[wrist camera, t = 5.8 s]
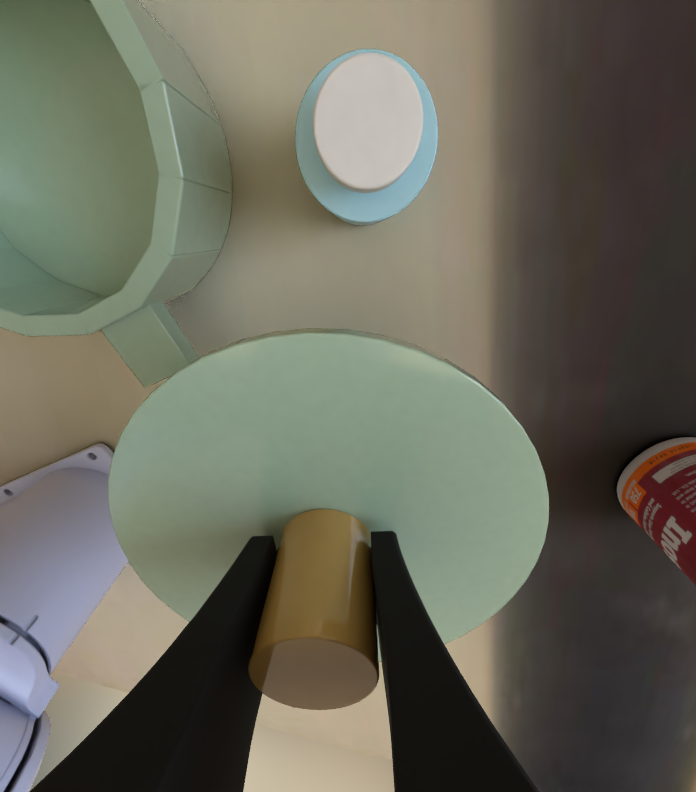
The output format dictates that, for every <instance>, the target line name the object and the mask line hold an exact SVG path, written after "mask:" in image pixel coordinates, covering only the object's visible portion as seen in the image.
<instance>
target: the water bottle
mask: <svg viewBox="0 0 696 792" xmlns="http://www.w3.org/2000/svg"><path fill="white" fill-rule="evenodd" d="M437 143H438V124H437V116H436V111H435V107H434V103H433V100H432V98H431V95H430V93H429V91H428V89H427V87H426V85H425V83H424V81H423V80H422V78H421V77H420V75H419V74H418V73H417V72H416V71H415V70H414V69H413V68H412V67H411V66H410V65H409V64H408V63H407V62H405V61H404V60H403V59H401V58H399V57H398V56H396V55H394V54H392V53H389V52H386V51H383V50H378V49H360V50H354V51H351V52H348V53H345V54H343V55H341V56H339V57H337V58H335V59H334V60H333V61H331V62H330V63H328V64H327V65H326V66H325V67H324V68H323V69H322V70H321V71H320V72H319V73H318V74H317V76H316V77H315V78H314V79H313V81H312V82H311V84H310V86H309V87H308V89H307V91H306V93H305V95H304V97H303V100H302V102H301V105H300V108H299V112H298V116H297V122H296V131H295V147H296V154H297V160H298V164H299V168H300V171H301V173H302V176H303V179H304V181H305V183H306V185H307V187H308V188H309V190H310V191H311V193H312V194H313V196H314V197H315V198H316V199H317V200H318V202H319V203H320V204H321V205H322V206H324V207H325V208H326V209H327V210H328V211H330V212H331V213H333V214H334V215H335V216H337V217H338V218H340V219H341V220H343V221H345V222H347V223H350V224H354V225H363V226H364V225H371V224H375V223H378V222H380V221H382V220H385V219H387V218H389V217H391V216H393V215H395V214H397V213H398V212H400V211H401V210H403V209H404V208H405V207H406V206H408V205H409V204H410V203H411V202H412V201H413V200H414V199H415V197H416V196H417V195H418V194H419V192H420V191H421V189H422V188H423V186H424V184H425V183H426V181H427V179H428V177H429V175H430V172H431V169H432V167H433V164H434V160H435V156H436V151H437Z"/></svg>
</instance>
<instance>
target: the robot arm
mask: <svg viewBox="0 0 696 792" xmlns="http://www.w3.org/2000/svg"><path fill="white" fill-rule="evenodd" d="M94 454H95V455H96V456H95V455H94ZM112 456H113V452H112V451H111V450H110V448H109V447H108V446H106V445H104V444H101V443H98V444H95V445H93V446H91V447H88V448H86V449H84V450H81V451H79V452H77V453H75V454H72V455H70V456H68V457H66V458H63V459H61V460H59V461H56V462H54V463H52V464H50V465H47V466H45V467H43V468H41V469H38V470H36V471H34V472H31V473H29V474H27V475H25V476H22V477H20V478H18V479H15V480H13V481H11V482H9V483H6V484H4V485H2V486H0V792H29V790H30V788H31V786H32V784H33V782H34V780H35V777H36V775H37V773H38V771H39V768H40V765H41V762H42V759H43V756H44V752H45V749H46V746H47V743H48V738H49V735H50V726H51V724H50V718H49V716H48V714H47V713H46V711H44V709H45V707H46V706H47V704H48V703H49V702H50V700H51V698H52V697H53V695H54V694H55V692H56V691H57V689H58V688H59V683H57V682H56V681H55V680H54V679H53V678H52V677H51V676H50V674H51V673H52V671H53V670H54V668H55V667H56V665H57V664H58V662H59V661H60V660H61V658H62V657H63V655H64V654H65V652H66V651H67V649H68V648H69V647H70V645H71V644H72V642H73V641H74V639H75V638H76V637H77V635H78V634H79V632H80V631H81V629H82V628H83V626H84V625H85V624H86V622H87V621H88V619H89V618H90V616H91V615H92V613H93V612H94V611H95V609H96V608H97V606H98V605H99V603H100V602H101V601H102V599H103V598H104V596H105V595H106V593H107V592H108V590H109V589H110V588H111V586H112V585H113V583H114V582H115V580H116V579H117V577H118V576H119V575H120V573H121V572H122V570H123V569H124V567H125V566H126V565H127V563H128V560H127V558H126V556H125V554H124V552H123V550H122V548H121V547H120V545H119V542H118V539H117V537H116V534H115V531H114V528H113V525H112V521H111V516H110V510H109V505H108V477H109V471H110V466H111V460H112ZM276 553H277V550H276V545H275V541H274V537H273V535H272V536H252V537H251V538H250V539H249V541H248V542H247V544H246V545H245V547H244V548H243V550H242V551H241V552H240V554H239V555H238V557H237V558H236V560H235V561H234V563H233V564H232V566H231V567H230V568H229V570H228V571H227V573H226V574H225V575H224V577H223V578H222V580H221V581H220V583H219V584H218V585H217V587H216V588H215V589H214V591H213V592H212V593H211V595H210V596H209V597H208V599H207V600H206V601H205V603H204V604H203V605H202V607H201V608H200V609H199V611H198V612H197V613H196V615H195V616H194V617H193V618H192V620H191V621H190V622H189V623H188V625H187V626H186V627H185V628H184V630H183V631H182V632H181V633H180V635H179V636H178V637H177V638H176V640H175V641H174V642H173V643H172V645H171V646H170V647H169V648H168V649H167V651H166V652H165V653H164V654H163V655H162V656H161V658H160V659H159V660H158V661H157V662H156V663H155V665H154V666H153V667H152V668H151V669H150V670H149V671H148V673H147V674H146V675H145V676H144V677H143V678H142V679H141V680H140V681H139V683H138V684H137V685H136V686H135V687H134V688H133V689H132V690H131V691H130V693H129V694H128V695H127V696H126V697H125V698H124V699H123V700H122V701H121V702H120V703H119V704H118V705H117V706H116V707H115V708H114V709H113V711H111V712H110V714H109V715H108V716H107V717H106V718H105V719H104V720H103V721H102V722H101V723H100V724H99V725H98V726H97V727H96V728H95V729H94V730H93V731H92V732H91V733H90V734H89V735H88V736H87V737H86V738H85V739H84V741H82V742H81V743H80V744H79V745H78V746H77V747H76V748H75V749H74V750H73V751H72V752H71V753H70V754H69V755H68V756H67V757H66V758H65V759H64V760H63V761H62V762H60V763H59V764H58V765H57V766H56V767H55V768H54V769H53V770H52V771H51V772H50V773H49V774H48V775H47V776H46V777H45V778H44V779H43V780H41V781H40V782H39V783H38V784H37V785H36V786H35V787H34V788H33V789H32V790H31V791H30V792H243V788H244V783H245V776H246V770H247V764H248V758H249V752H250V745H251V740H252V736H253V731H254V726H255V722H256V717H257V713H258V709H259V705H260V701H261V697H262V692H260V691H259V690H258V689H257V688H256V687H255V686H254V684H253V683H252V681H251V679H250V677H249V672H248V663H249V659H250V655H251V651H252V647H253V643H254V639H255V635H256V631H257V627H258V624H259V620H260V616H261V612H262V608H263V604H264V600H265V596H266V592H267V588H268V584H269V580H270V576H271V572H272V568H273V564H274V560H275V557H276ZM371 555H372V569H373V582H374V590H375V600H376V618H377V630H378V637H379V645H380V653H381V660H382V668H383V676H384V683H385V691H386V699H387V706H388V714H389V723H390V733H391V743H392V758H393V773H394V787H395V792H539V791H538V789H537V788H536V787H535V785H534V784H533V782H532V781H531V779H530V778H529V776H528V775H527V774H526V772H525V771H524V769H523V768H522V766H521V765H520V763H519V762H518V760H517V759H516V758H515V756H514V755H513V753H512V752H511V750H510V749H509V747H508V746H507V744H506V743H505V742H504V740H503V739H502V737H501V736H500V734H499V733H498V731H497V730H496V728H495V727H494V725H493V724H492V722H491V721H490V719H489V718H488V716H487V715H486V713H485V712H484V710H483V708H482V707H481V705H480V704H479V702H478V701H477V699H476V697H475V696H474V694H473V693H472V691H471V689H470V688H469V686H468V684H467V683H466V681H465V679H464V678H463V676H462V675H461V673H460V671H459V670H458V668H457V666H456V664H455V663H454V661H453V659H452V657H451V656H450V654H449V652H448V650H447V649H446V647H445V645H444V643H443V641H442V639H441V638H440V636H439V634H438V632H437V630H436V628H435V626H434V625H433V623H432V621H431V619H430V617H429V615H428V613H427V611H426V609H425V607H424V604H423V602H422V600H421V598H420V596H419V594H418V592H417V590H416V588H415V585H414V583H413V581H412V578H411V576H410V574H409V571H408V569H407V566H406V564H405V561H404V558H403V555H402V553H401V549H400V546H399V543H398V539H397V534H396V533H395V532H393V531H373V532H371Z"/></svg>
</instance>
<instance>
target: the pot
mask: <svg viewBox="0 0 696 792" xmlns="http://www.w3.org/2000/svg"><path fill="white" fill-rule="evenodd" d="M231 207H232V176H231V166H230V159H229V154H228V149H227V144H226V140H225V136H224V133H223V130H222V127H221V124H220V121H219V117H218V115H217V112H216V110H215V108H214V105H213V103H212V101H211V98H210V96H209V94H208V92H207V90H206V88H205V86H204V85H203V83H202V81H201V79H200V77H199V76H198V74H197V72H196V70H195V69H194V67H193V66H192V64H191V63H190V61H189V59H188V57H187V55H186V53H185V52H184V50H183V49H182V48H181V47H180V46H179V44H178V43H177V42H176V41H175V40H174V39H173V38H172V37H171V36H170V35H169V34H168V33H167V32H166V31H165V30H164V29H163V28H162V27H161V26H160V25H159V24H158V23H157V21H156V20H155V19H154V18H153V17H152V16H151V15H150V14H149V13H148V12H147V11H146V10H145V9H144V8H143V7H142V6H141V5H140V4H139V3H138V2H137V1H136V0H0V328H3V329H6V330H9V331H12V332H15V333H18V334H21V335H24V336H30V337H34V336H71V335H89V334H93V333H95V332H98V331H102V333H103V334H104V335H105V337H106V338H107V339H108V340H109V342H110V343H111V344H112V346H113V347H114V348H115V350H116V351H117V352H118V354H119V355H120V356H121V358H122V359H123V360H124V361H125V363H126V364H127V365H128V367H129V368H130V369H131V371H132V372H133V373H134V375H135V376H136V377H137V379H138V380H139V381H140V382H141V384H142V385H143V386H144V387H145V388H146V387H148V386H150V385H152V384H155V383H157V382H159V381H161V380H163V379H165V378H168V377H170V376H172V375H173V374H175V373H176V372H177V371H179V370H180V369H181V368H182V367H184V366H186V365H187V364H189V363H191V362H193V361H194V360H196V359H198V358H200V357H199V356H198V354H197V353H196V351H195V350H194V348H193V347H192V345H191V344H190V342H189V341H188V339H187V338H186V336H185V334H184V333H183V331H182V330H181V328H180V327H179V325H178V324H177V322H176V321H175V319H174V318H173V316H172V315H171V313H170V312H169V310H168V309H167V307H166V306H165V304H166V303H168V302H170V301H173V300H175V299H177V298H179V297H180V296H182V295H184V294H186V293H187V292H189V291H190V290H191V289H193V288H194V286H195V285H197V284H198V283H199V282H200V281H201V280H202V278H203V277H204V276H205V275H206V274H207V273H208V271H209V270H210V269H211V267H212V265H213V264H214V262H215V260H216V259H217V257H218V255H219V253H220V250H221V248H222V246H223V243H224V241H225V237H226V234H227V230H228V226H229V222H230V214H231Z"/></svg>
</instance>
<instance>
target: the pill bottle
mask: <svg viewBox="0 0 696 792" xmlns="http://www.w3.org/2000/svg"><path fill="white" fill-rule="evenodd" d="M617 496H618V499H619V502H620V504H621V506H622V507H623V509H624V510H625V511H626V512H627V513H628V514H629V516H630V517H631V518H632V519H633V520H634V521H635V522H636V523H637V524H638V525H639V526H640V527H641V528H642V529H643V530H644V531H645V532H646V533H647V534H648V535H649V536H650V538H651V539H652V540H653V541H654V542H655V543H656V544H657V545H658V546H659V547H660V548H661V549H662V550H663V551H664V552H665V553H666V554H667V555H668V556H669V558H670V559H671V560H672V561H673V562H674V563H675V564H676V565H677V566H678V567H679V568H680V569H681V570H682V571H683V572H684V573H685V574H686V576H687V577H688V578H689V579H690V580H691V581H692V582H693V583H694V584H695V585H696V437H683V438H675V439H671V440H667V441H664V442H661V443H659V444H656V445H654V446H652V447H650V448H648V449H647V450H645V451H644V452H642V453H641V454H639V455H638V456H637V457H636V458H634V459H633V460H632V461H631V462H630V463H629V464H628V465H627V467H626V468H625V469H624V471H623V472H622V474H621V476H620V478H619V481H618V484H617Z"/></svg>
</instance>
